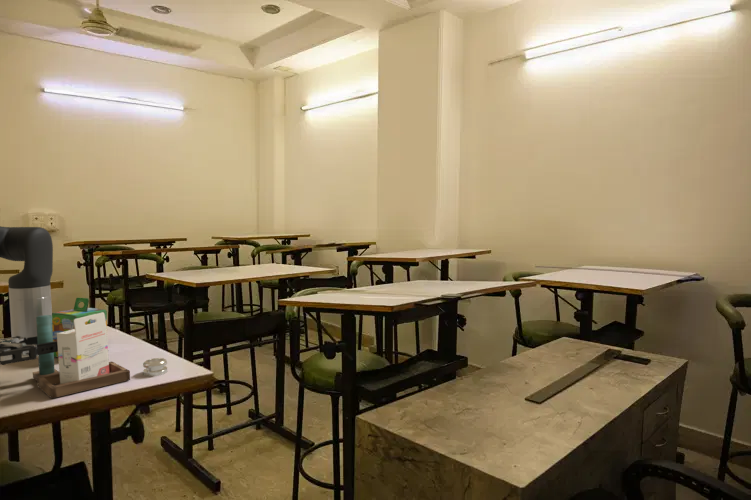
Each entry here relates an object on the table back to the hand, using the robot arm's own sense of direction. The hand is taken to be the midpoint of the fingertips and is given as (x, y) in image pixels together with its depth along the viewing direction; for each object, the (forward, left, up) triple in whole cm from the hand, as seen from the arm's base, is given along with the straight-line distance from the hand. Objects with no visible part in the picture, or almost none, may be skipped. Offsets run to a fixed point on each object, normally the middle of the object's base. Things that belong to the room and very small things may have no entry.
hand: (52, 342), depth 107 cm
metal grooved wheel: (+13, +17, -8) cm, 23 cm away
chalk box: (-17, +10, -8) cm, 22 cm away
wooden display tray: (+5, +3, -8) cm, 10 cm away
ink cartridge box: (+9, +3, -8) cm, 13 cm away
